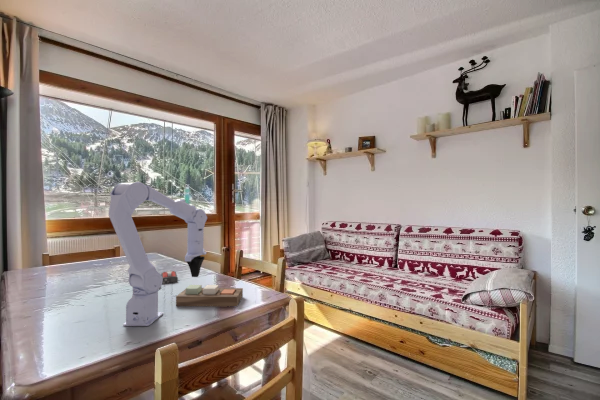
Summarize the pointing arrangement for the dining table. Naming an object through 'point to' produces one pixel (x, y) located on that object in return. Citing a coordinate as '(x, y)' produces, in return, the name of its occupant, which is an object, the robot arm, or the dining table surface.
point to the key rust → (228, 292)
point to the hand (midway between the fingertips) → (195, 276)
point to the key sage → (193, 289)
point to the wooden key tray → (210, 298)
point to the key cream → (210, 289)
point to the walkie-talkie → (169, 277)
